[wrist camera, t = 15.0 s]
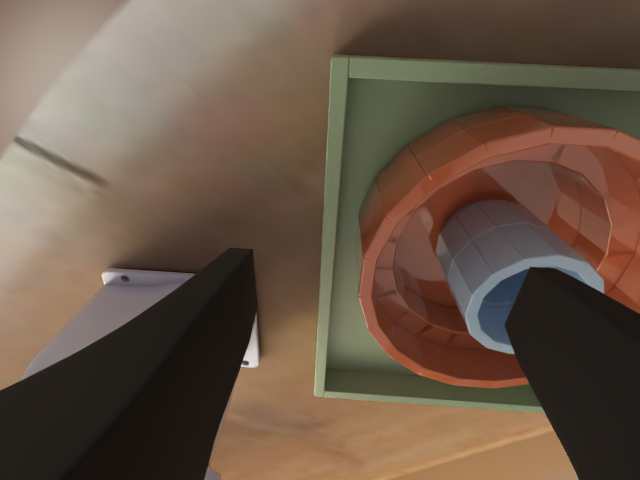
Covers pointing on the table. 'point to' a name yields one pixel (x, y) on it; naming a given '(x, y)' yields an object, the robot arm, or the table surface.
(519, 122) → the big bowl
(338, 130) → the tray
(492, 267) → the pale blue cup
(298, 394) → the table surface
